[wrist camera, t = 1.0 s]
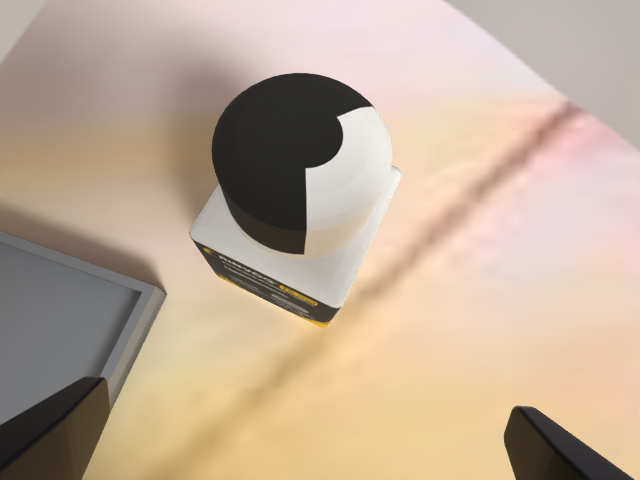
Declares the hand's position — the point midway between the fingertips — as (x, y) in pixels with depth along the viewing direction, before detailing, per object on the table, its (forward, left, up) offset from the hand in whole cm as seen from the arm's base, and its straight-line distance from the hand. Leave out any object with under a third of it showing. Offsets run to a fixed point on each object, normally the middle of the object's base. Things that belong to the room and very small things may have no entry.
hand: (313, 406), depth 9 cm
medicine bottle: (+7, +3, -13) cm, 16 cm away
